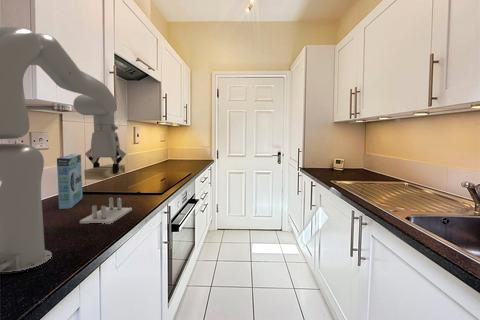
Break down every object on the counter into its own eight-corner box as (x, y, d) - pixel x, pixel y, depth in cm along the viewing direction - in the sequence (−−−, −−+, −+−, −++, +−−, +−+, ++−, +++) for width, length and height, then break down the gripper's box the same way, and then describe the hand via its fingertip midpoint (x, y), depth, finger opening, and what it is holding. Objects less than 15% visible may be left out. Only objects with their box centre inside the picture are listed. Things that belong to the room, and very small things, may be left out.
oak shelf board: (109, 172, 124) (109, 164, 124) (125, 172, 124) (124, 164, 123) (84, 179, 106) (84, 170, 106) (102, 179, 106) (102, 170, 105)
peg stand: (110, 224, 107) (110, 208, 106) (79, 223, 107) (78, 207, 107) (132, 209, 126) (131, 196, 125) (105, 209, 126) (105, 196, 126)
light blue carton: (72, 199, 144) (70, 154, 142) (83, 198, 146) (81, 154, 143) (58, 209, 126) (55, 158, 123) (71, 208, 127) (68, 158, 124)
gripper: (129, 129, 116) (131, 172, 118) (88, 128, 117) (90, 171, 119) (121, 129, 109) (123, 174, 111) (77, 128, 109) (79, 174, 111)
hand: (106, 172), depth 115 cm, fingers closed on oak shelf board, 7 cm apart
